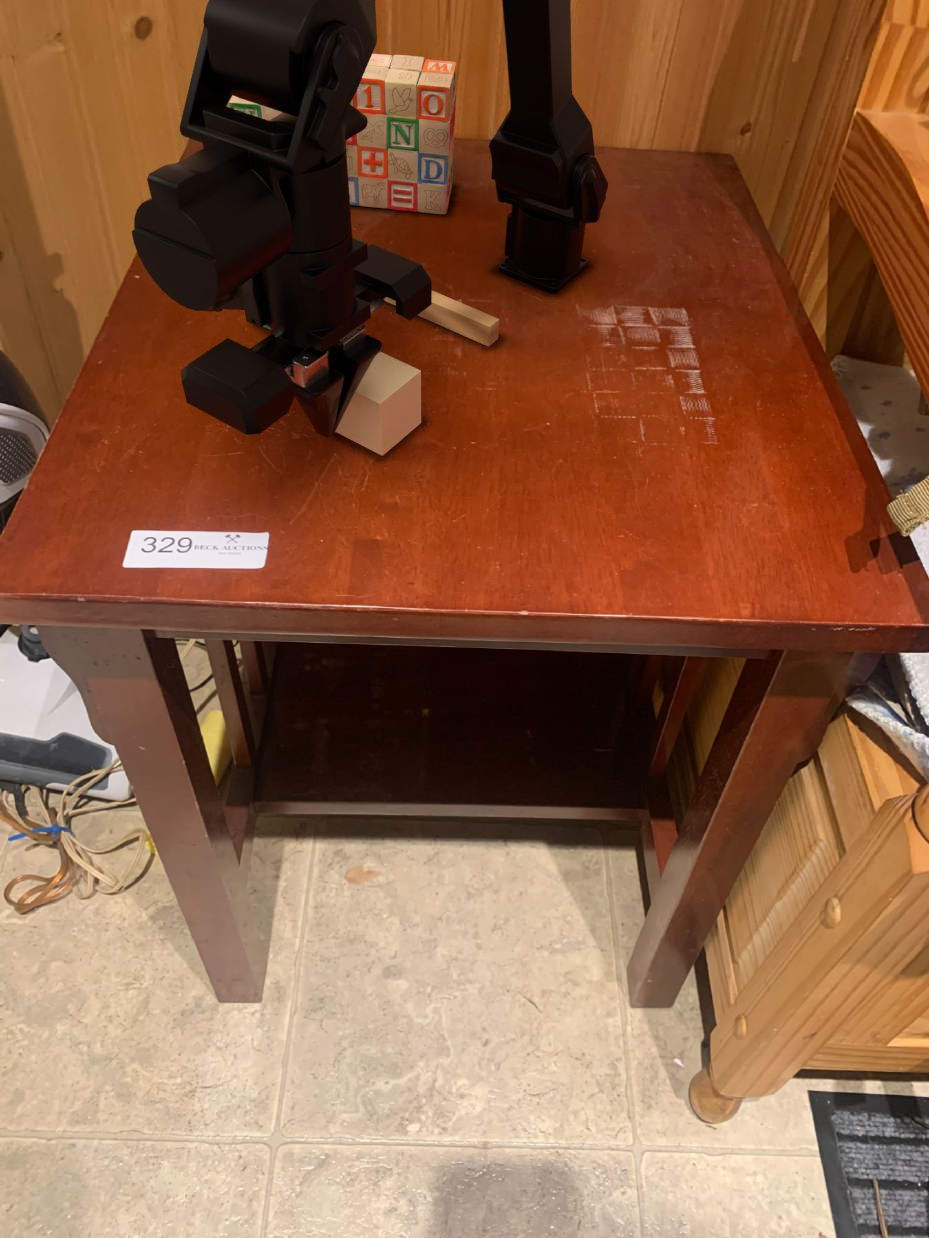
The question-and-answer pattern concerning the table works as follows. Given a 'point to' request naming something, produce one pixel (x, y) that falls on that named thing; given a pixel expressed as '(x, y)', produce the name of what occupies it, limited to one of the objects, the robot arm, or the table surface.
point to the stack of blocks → (398, 134)
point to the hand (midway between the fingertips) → (325, 433)
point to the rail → (460, 319)
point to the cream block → (383, 405)
